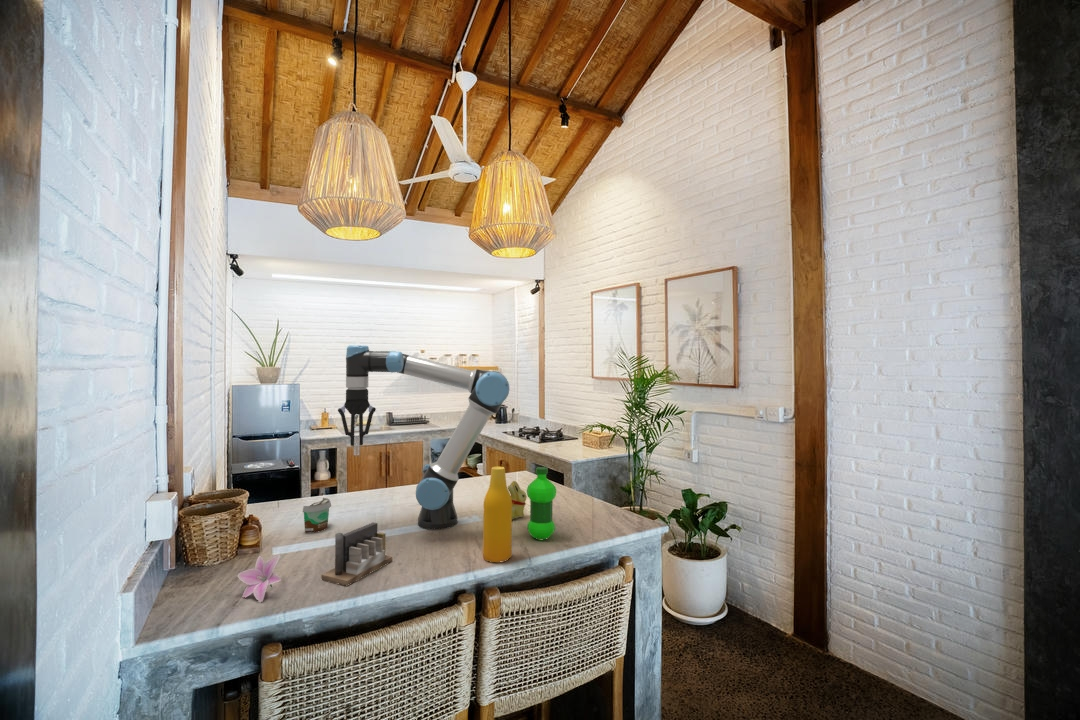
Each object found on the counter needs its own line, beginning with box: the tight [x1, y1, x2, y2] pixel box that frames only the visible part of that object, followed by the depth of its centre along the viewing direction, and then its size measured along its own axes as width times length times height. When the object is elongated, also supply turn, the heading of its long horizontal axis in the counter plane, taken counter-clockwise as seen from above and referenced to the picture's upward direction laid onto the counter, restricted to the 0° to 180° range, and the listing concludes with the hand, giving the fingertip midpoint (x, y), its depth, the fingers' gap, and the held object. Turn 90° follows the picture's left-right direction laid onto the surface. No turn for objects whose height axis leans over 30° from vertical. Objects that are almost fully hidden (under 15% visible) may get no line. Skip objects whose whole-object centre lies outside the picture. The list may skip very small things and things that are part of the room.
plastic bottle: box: [526, 466, 557, 539], centre depth 181 cm, size 10×10×25 cm
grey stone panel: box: [342, 522, 378, 571], centre depth 153 cm, size 13×2×10 cm, turn 155°
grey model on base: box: [321, 532, 393, 586], centre depth 151 cm, size 19×10×13 cm, turn 157°
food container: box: [302, 497, 332, 533], centre depth 187 cm, size 12×6×10 cm, turn 168°
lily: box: [237, 554, 282, 602], centre depth 136 cm, size 12×12×10 cm
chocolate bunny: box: [507, 480, 528, 520], centre depth 203 cm, size 7×11×15 cm, turn 125°
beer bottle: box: [482, 466, 513, 563], centre depth 162 cm, size 9×9×29 cm
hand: (356, 454), depth 179 cm, fingers closed
